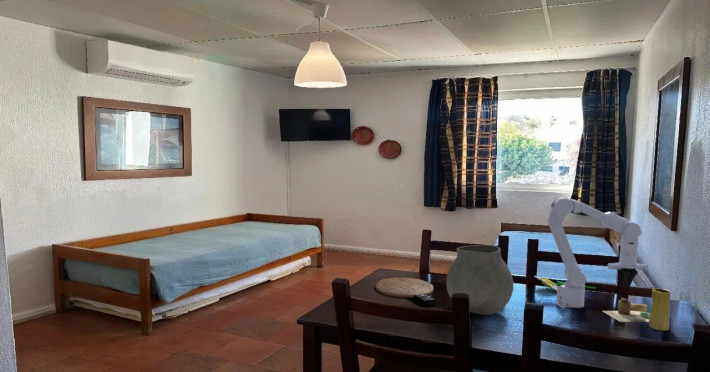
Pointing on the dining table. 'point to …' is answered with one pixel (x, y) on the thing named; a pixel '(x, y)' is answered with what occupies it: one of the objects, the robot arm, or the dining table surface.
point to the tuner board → (630, 316)
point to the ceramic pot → (481, 278)
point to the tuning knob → (630, 307)
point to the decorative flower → (554, 285)
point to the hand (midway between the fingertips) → (626, 287)
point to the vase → (660, 309)
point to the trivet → (404, 287)
